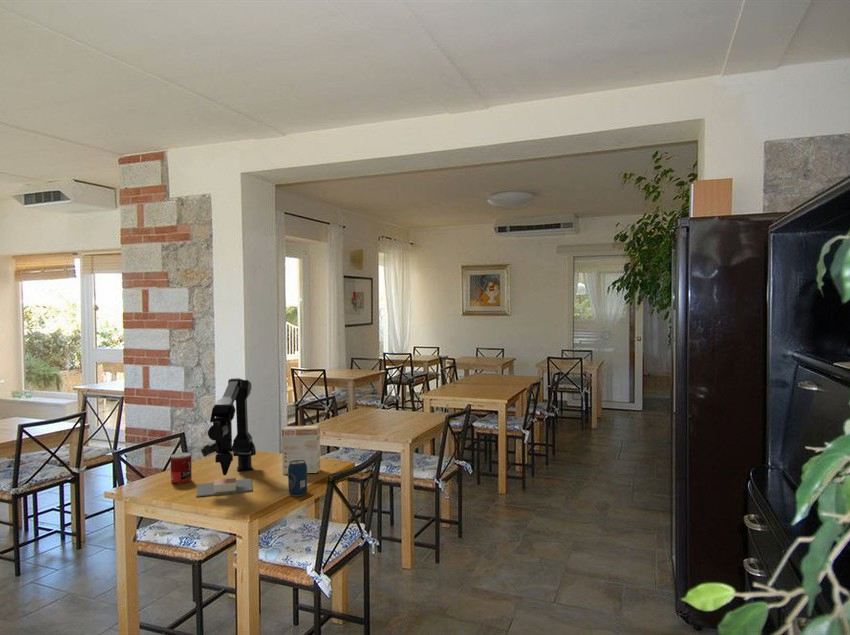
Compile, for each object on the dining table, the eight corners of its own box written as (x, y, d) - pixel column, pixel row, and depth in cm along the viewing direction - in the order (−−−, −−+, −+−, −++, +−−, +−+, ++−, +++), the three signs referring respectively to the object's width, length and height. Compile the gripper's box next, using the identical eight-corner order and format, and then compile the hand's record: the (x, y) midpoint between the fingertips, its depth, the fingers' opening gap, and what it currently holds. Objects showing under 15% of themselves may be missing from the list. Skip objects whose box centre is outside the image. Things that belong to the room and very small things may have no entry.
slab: (214, 479, 219) (213, 484, 212) (235, 477, 221) (235, 482, 215) (214, 487, 219) (213, 492, 212) (235, 485, 221) (236, 490, 215)
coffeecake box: (321, 469, 244) (320, 425, 244) (317, 474, 237) (316, 428, 237) (286, 470, 245) (286, 425, 245) (282, 474, 237) (281, 428, 237)
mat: (198, 485, 224) (198, 484, 224) (251, 480, 230) (251, 478, 230) (196, 497, 208) (196, 495, 208) (252, 491, 215) (252, 489, 215)
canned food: (184, 484, 225) (183, 457, 225) (166, 483, 227) (166, 456, 227) (195, 479, 233) (195, 452, 233) (178, 478, 234) (178, 452, 234)
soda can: (285, 494, 211) (284, 462, 211) (301, 489, 216) (300, 458, 216) (294, 498, 206) (294, 465, 206) (311, 493, 211) (310, 461, 211)
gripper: (203, 432, 225) (203, 471, 225) (200, 441, 207) (201, 484, 207) (232, 430, 229) (233, 468, 229) (232, 439, 211) (233, 480, 211)
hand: (224, 475), depth 219 cm, fingers closed
